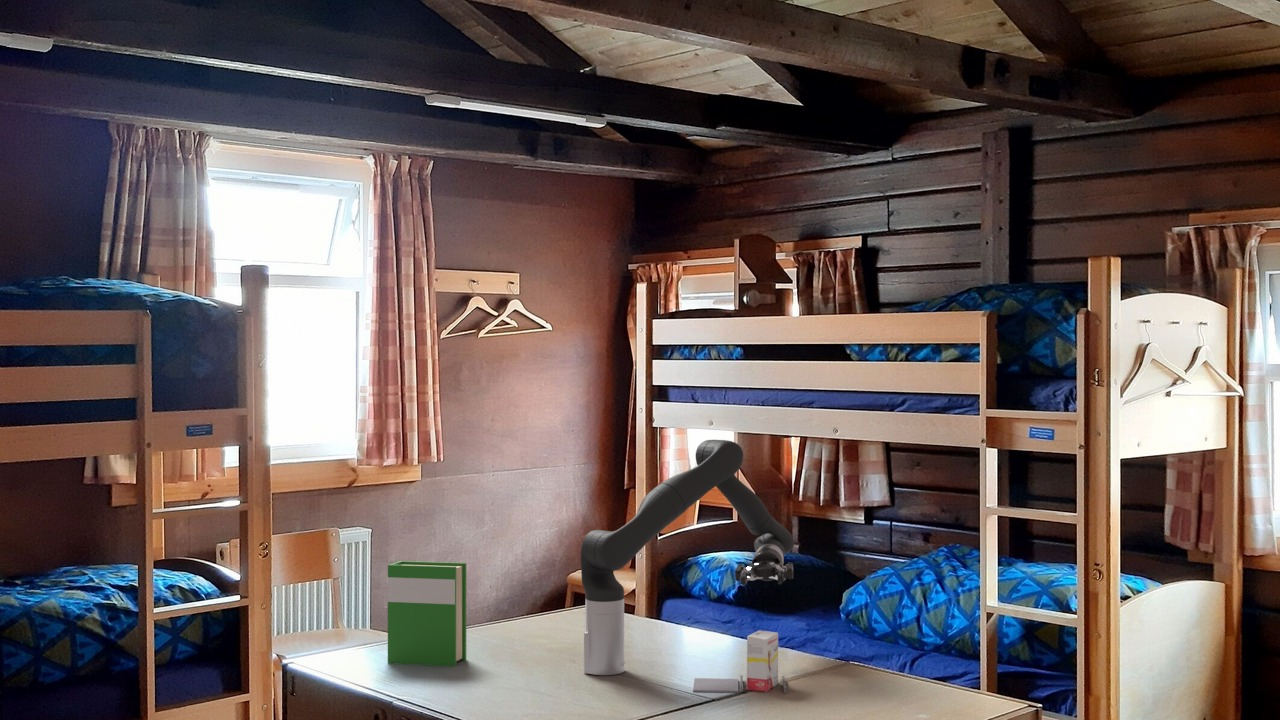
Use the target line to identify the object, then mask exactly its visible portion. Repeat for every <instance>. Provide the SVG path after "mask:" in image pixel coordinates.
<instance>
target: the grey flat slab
mask: <svg viewBox="0 0 1280 720" xmlns="http://www.w3.org/2000/svg"><path fill="white" fill-rule="evenodd" d="M739 677H740V679H739V678H713V677H712V678H705V677H704V678H703V677H701V678H700V677H695V678H694V680H693V681H694V682H693V688H692V693H730V694H731V693H733V694H734V692H737V694H738V693H739V683H740V693H741V692H743V693H744V681H743V680H744V678H743V675H740V676H739ZM739 680H740V682H739ZM781 682H782V683H783V684H782V688H783V689H784V690H783V694H787V684H786V677H785V675H782V676H781Z"/></svg>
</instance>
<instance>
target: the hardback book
mask: <svg viewBox="0 0 1280 720" xmlns="http://www.w3.org/2000/svg"><path fill="white" fill-rule="evenodd" d="M458 661H460V662H461V661H462V662H464V661H467V562H452V561H450V562H445V561H417V560H415V561H414V560H413V561H412V560H411V561H410V560H400V561H399V560H398V561H395V562H394V563H390V564H388V565H387V664H394V663H396V665H397V664H399V665H413V664H420V665H419V666H432V665H433V666H434V667H436V666H437V667H457V662H458Z"/></svg>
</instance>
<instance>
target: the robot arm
mask: <svg viewBox="0 0 1280 720" xmlns="http://www.w3.org/2000/svg"><path fill="white" fill-rule="evenodd" d="M695 462H696V466H695V467H693V468H691V469H688V470H686V471H683V472H681V473H678V474H675V475H673V476H672V477H669V478H667V479H665V480H663V481H662V482H660V483H659V484H658V485H657V486H656V487H654V488H653V489H651V490H650V491H649V492H648V493H647V494H646V495H645V496H644V497H643V499H642V501H641V503H640V505H639V507H638V509H637V512H636V514H635V516H633V518H631V519H630V520H629V521H628V522H627V523H625V524H624V525H623V526H621V527H620V528H618V529H617V530H614V531H609V530H604V529H603V530H602V529H595V530H591V531H589V532H588V533H587V534H586V535H585V536H584V538H583V541H581V545H580V546H581V547H580V571H581V584H582V587H583V590H584V594H585V595H584V597H585V598H584V599H585V609H584V610H585V615H584V616H585V617H584V618H585V619H584V620H585V625H584V626H585V631H584V633H583V643H584V644H583V650H584V651H583V656H584V657H583V660H584V661H583V665H584V667H583V668H584V669H583V670H584V671H583V673H584V674H589V675H594V676H595V675H596V676H613V675H619V674H622V673H624V672H625V664H626V663H625V589H624V586H623V585H622V584H621V583H620V581H618V579H616V578H617V577H616V576H615V573H614V572H615V571H619V570H621V569H623V568H624V567H625V566H627V564H629V563H630V562H631V561H632V560H633V558H635V556H636V555H637V554H638V553H639V552H640V551H641V550H642V549H643V548H644V547H645V546H646V545H647V544H648V543H649V542H650V541H651V540H652V539H654V538H655V537H656V536H657V535H658V534H660V533H661V532H662V531H663V530H664V529H665V528H667V526H669V525H670V524H672V522H674V521H676V520H677V519H678V518H679V517H680V516H682V515H683V514H684V513H685V512H686V511H687V510H688V509H690V508H691V507H692V506H693V505H694V504H695V503H696V502H698V501H699V500H700V499H701V498H703V497H704V496H705V495H706V494H708V493H709V492H710V491H711V490H713V489H714V488H715V487H716V488H717V489H718V490H719V492H720V493H721V494H722V495H723V496H724V497H725V498H726V500H727V501H728V502H729V503H730V505H731V506H732V507H733V508H734V510H735V511H736V513H737V515H738V516H739V517H740V519H741V520H742V521H743V524H744V525H745V527H746V528H747V529H748V531H749V532H750V533H751V534H752V535H754V536H758V537H757V538H756V539H755V540H754V542H753V547H754V550H755V553H754V555H753V558H752V561H751V564H750V565H749V566H747V567H745V566H744V564H742V563H741V564H740V563H739V564H737V566H736V568H735V569H734V580H735V581H737V582H739V581H740V584H742V585H743V586H746V585H747V584H748V581H756V580H761V581H765V582H769V581H774V580H776V581H777V584H778V585H782V583H784V582H785V581H786V579H788V580H793V579H794V564H793V562H788V563H787V564H785V565H784V562H785V561H784V558H785V555H786V554H788V553H790V552H791V551H793V549H794V546H795V540H794V539H795V538H794V537H793V535H792V533H791V532H790V531H789V530H788V529H787V528H786V527H784V526H783V525H782V524H781V522H778V521H777V520H776V519H775V518H774V517H772V515H771V514H770V513H771V512H769V510H768V509H767V507H766V506H765V504H764V503H763V501H762V499H760V497H759V496H758V495H757V494H756V493H755V492H754V491H752V490H751V489H750V488H749V487H748V486H747V485H745V484H744V483H743V482H742V481H741V480H740V479H739V478H738V477H737V476H736V475H735V474H736V473H737V472H738V471H739V470H740V468H741V467H742V464H743V463H744V451H743V448H742V447H741V446H740V445H739V444H738V443H737V442H735V441H732V440H729V439H728V440H727V439H707V440H704V441H702V442H700V444H699V445H698V446H697V449H696V450H695ZM760 535H761V536H760Z"/></svg>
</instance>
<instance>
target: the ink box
mask: <svg viewBox="0 0 1280 720" xmlns="http://www.w3.org/2000/svg"><path fill="white" fill-rule="evenodd" d="M746 639H747V640H746V656H747V657H746V690H747V691H754V692H755V691H757V692H764V693H768V692H769V691H770V690H771V688H772V689H773V688H774V687H776V686H777V685H779V632H775V631H768V630H757V631H754V632H752V633H751V634H749V635H747V638H746ZM767 691H768V692H767Z"/></svg>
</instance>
